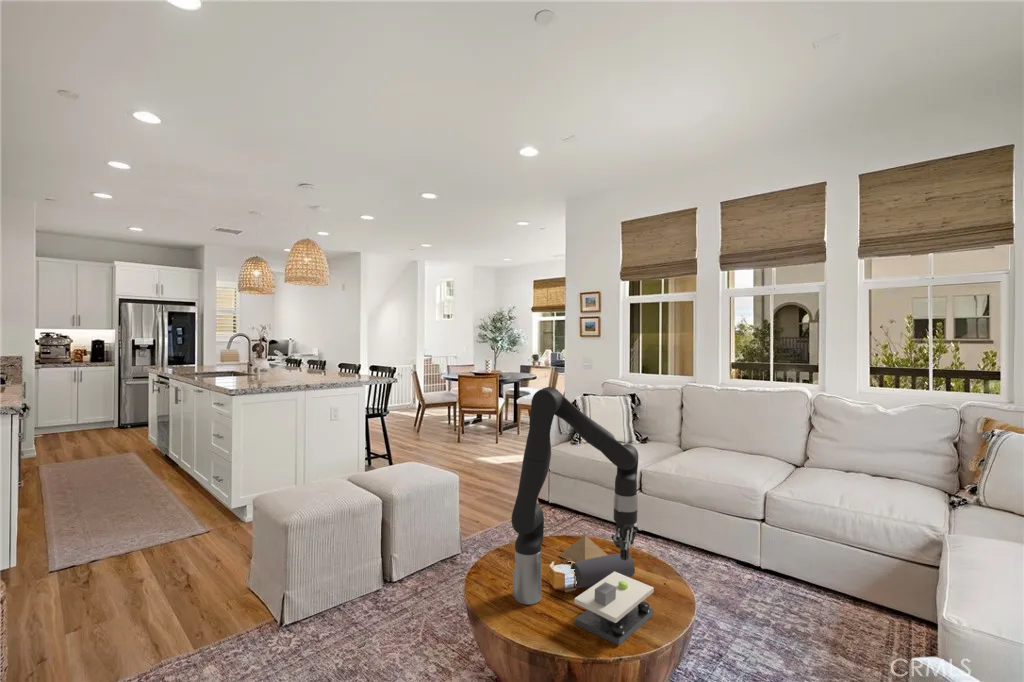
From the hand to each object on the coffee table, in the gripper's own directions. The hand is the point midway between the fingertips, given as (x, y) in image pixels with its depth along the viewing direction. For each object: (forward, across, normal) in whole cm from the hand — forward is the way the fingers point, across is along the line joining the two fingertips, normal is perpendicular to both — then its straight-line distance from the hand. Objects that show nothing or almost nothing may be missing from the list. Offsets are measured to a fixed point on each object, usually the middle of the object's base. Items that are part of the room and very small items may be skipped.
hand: (624, 559), depth 164 cm
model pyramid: (+20, -26, -34) cm, 48 cm away
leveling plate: (+12, +3, -1) cm, 13 cm away
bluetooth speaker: (+20, -14, -17) cm, 29 cm away
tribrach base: (+19, +3, -1) cm, 20 cm away
